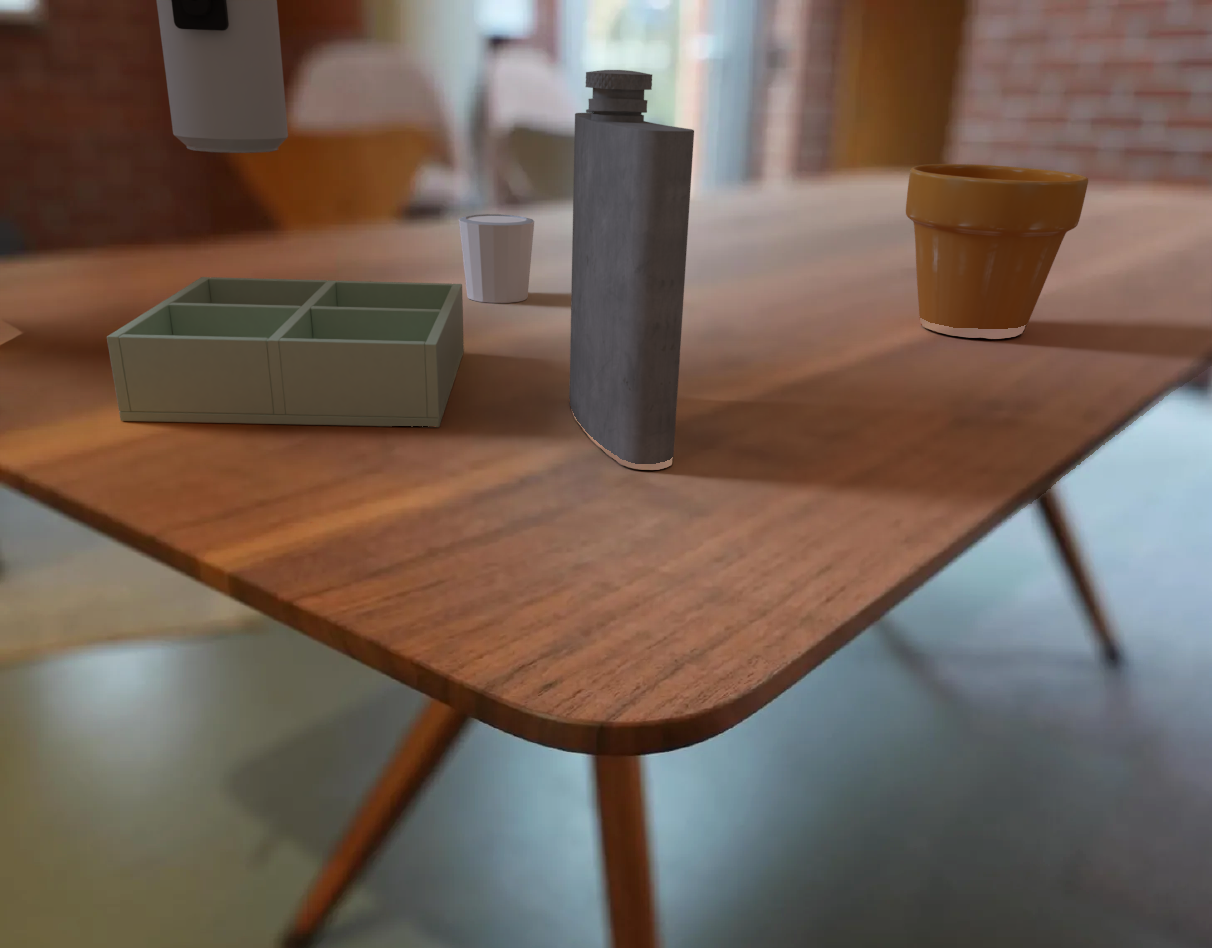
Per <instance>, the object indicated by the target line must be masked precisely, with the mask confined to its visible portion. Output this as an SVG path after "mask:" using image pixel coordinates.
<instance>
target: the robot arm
mask: <svg viewBox="0 0 1212 948" xmlns="http://www.w3.org/2000/svg"><path fill="white" fill-rule="evenodd" d="M171 1H172V10H173V18H174V24H175V25H176V27H177V28H179V29H194V30H220V31H224V30H226V29H227V28H228V26H229V22H228V12H227V3H226V0H171Z"/></svg>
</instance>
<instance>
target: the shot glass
mask: <svg viewBox="0 0 1212 948" xmlns="http://www.w3.org/2000/svg"><path fill="white" fill-rule="evenodd" d="M458 225H459V234H460V241H461V242H460V243H461V252H462V261H463V270H464V271H463V272H464V281H465V288H466V296H467V299H469V300H472V301H475V302H480V303H490V304H509V303H518V302H522V301H526V299H528V295H529V287H530V276H531V275H530V273H531V264H532V253H533V242H534V231H535V220H534V219H533V218H529V217H525V216H520V215H513V214H499V213H497V214H495V213H494V214H493V213H491V214H489V213H486V214H473V215H465V216H462V217H459V218H458Z"/></svg>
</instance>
